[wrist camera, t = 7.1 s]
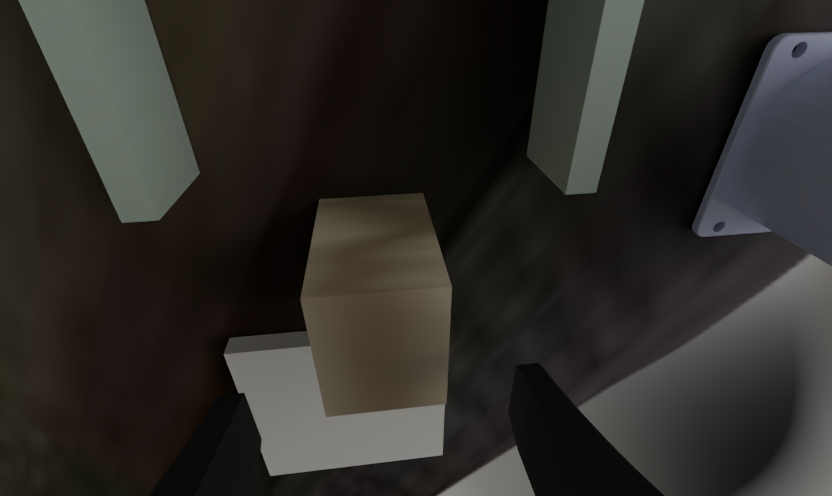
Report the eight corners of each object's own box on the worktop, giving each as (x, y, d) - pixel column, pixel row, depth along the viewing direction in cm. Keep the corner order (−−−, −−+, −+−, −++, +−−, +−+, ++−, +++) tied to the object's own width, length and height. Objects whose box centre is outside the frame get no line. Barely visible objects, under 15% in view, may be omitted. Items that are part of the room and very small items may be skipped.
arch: (614, -202, 10) (713, -277, 7) (551, 154, 16) (596, 192, 13) (27, -220, 9) (-130, -318, 6) (170, 174, 14) (121, 222, 11)
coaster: (443, 318, 20) (447, 333, 19) (439, 439, 25) (442, 454, 24) (229, 337, 19) (223, 354, 18) (273, 459, 24) (270, 475, 23)
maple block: (422, 192, 16) (452, 286, 11) (422, 291, 19) (446, 404, 14) (319, 198, 16) (300, 299, 10) (335, 299, 18) (325, 417, 13)
